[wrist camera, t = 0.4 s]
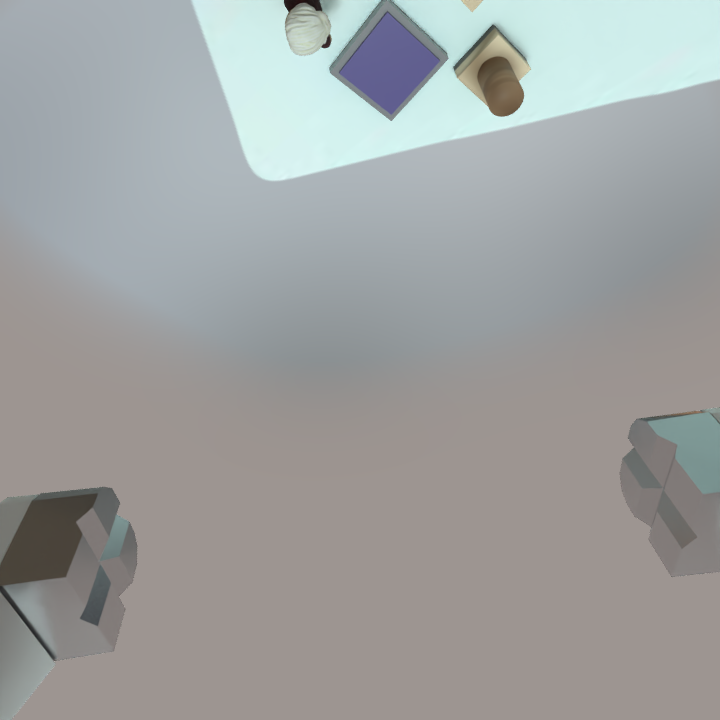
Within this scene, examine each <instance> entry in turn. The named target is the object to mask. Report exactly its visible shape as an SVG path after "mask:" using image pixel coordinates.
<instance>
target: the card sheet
mask: <svg viewBox="0 0 720 720" xmlns="http://www.w3.org/2000/svg"><path fill="white" fill-rule="evenodd" d="M461 1H462V2H463V3H464V4H465V5H466V6H467V7H468V8H469V9H470V10H471V11H472V12H473V11H474V10H475V9H476V8H477V6H478V5H479V4H480V3H481V2H482V1H483V0H461Z"/></svg>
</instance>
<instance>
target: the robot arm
mask: <svg viewBox="0 0 720 720" xmlns="http://www.w3.org/2000/svg"><path fill="white" fill-rule="evenodd" d="M628 439H629V441H630V442H631V443H632V445H633V446H634V448H633V449H632V450H631V451H630V452H629V453H628V454H627V455H626V456H625V457H624V458H623V459H622V464H621V470H620V480H621V487H622V492H623V495H624V497H625V500H626V503H627V505H628V506H629V508H630V510H631V511H632V513H633V515H634V516H635V517H637V518H638V519H640V520H641V521H643V522H644V523H646V524H648V525H649V526H651V531H650V536H649V541H650V543H651V544H652V546H653V548H654V549H655V551H656V553H657V554H658V556H659V557H660V559H661V561H662V562H663V564H664V565H665V567H666V569H667V570H668V572H669V573H670V575H671V577H675V576H685V575H694V574H704V573H713V572H720V407H719V408H712V409H705V410H700V411H691V412H684V413H677V414H670V415H662V416H654V417H647V418H640V419H636V420H635V422H634V423H633V424H632V425H631V428H630V431H629V435H628ZM119 504H120V502H119V500H118V498H117V496H116V494H115V493H114V491H113V489H112V488H108V487H99V488H89V489H80V490H70V491H60V492H50V493H41V494H38V495H28V496H18V497H8V498H6V499H5V500H3V501H2V502H1V503H0V720H12V718H13V717H14V716H15V715H16V713H17V712H18V711H19V710H20V708H21V707H22V706H23V705H24V703H25V702H26V701H27V700H28V698H29V697H30V696H31V695H32V693H33V692H34V691H35V690H36V688H37V687H38V686H39V684H40V683H41V682H42V681H43V680H44V678H45V677H46V676H47V674H48V673H49V672H50V671H51V669H52V668H53V667H54V666H55V662H54V661H57V660H64V659H69V658H75V657H82V656H88V655H95V654H101V653H106V652H112V651H114V649H115V645H116V641H117V637H118V634H119V630H120V627H121V623H122V620H123V616H124V612H125V607H124V605H123V604H122V602H121V600H120V598H119V596H120V595H121V594H122V593H123V592H124V591H125V590H126V588H127V587H128V586H129V585H130V584H131V583H132V582H133V578H134V574H135V570H136V566H137V542H136V538H135V533H134V531H133V529H132V526H131V524H130V522H129V521H127V520H125V519H123V518H122V517H120V516H118V515H117V511H118V508H119Z"/></svg>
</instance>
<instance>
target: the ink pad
mask: <svg viewBox="0 0 720 720" xmlns="http://www.w3.org/2000/svg"><path fill="white" fill-rule="evenodd" d="M448 59H449V58H448V56H447V53H446V52H445V51H444V50H443V49H441V48H440V47H439V46H438V45H437V44H436V43H435V42H434V41H433V40H432V39H431V38H430V37H429V36H428V35H427V34H426V33H425V32H423V31H422V30H421V29H420V28H419V27H418V26H417V25H416V24H415V23H414V22H413V21H412V20H411V19H410V18H409V17H408V16H407V15H406V14H404V13H403V12H402V11H401V10H400V9H399V8H398V7H397V6H396V5H395V4H394V3H393V2H392V1H391V0H382V1H381V2H380V3H379V5H378V6H377V7H376V8H375V10H374V11H373V12H372V14H371V15H370V16H369V17H368V19H367V20H366V21H365V23H364V24H363V25H362V27H361V28H360V29H359V30H358V32H357V33H356V34H355V36H354V37H353V38H352V39H351V41H350V42H349V43H348V45H347V46H346V47H345V48H344V50H343V51H342V52H341V54H340V55H339V56H338V57H337V59H336V60H335V61H334V63H333V64H332V65H331V67H330V73H331V74H332V75H333V76H335V77H336V78H337V79H338V80H340V81H341V82H342V83H343V84H345V85H346V86H347V87H349V88H350V89H351V90H352V91H354V92H355V93H356V94H357V95H359V96H360V97H361V98H363V99H364V100H365V101H366V102H368V103H369V104H370V105H371V106H373V107H374V108H375V109H377V110H378V111H379V112H380V113H382V114H383V115H384V116H385V117H387V118H388V119H389V120H391V121H392V120H393V119H394V118H395V117H396V115H397V114H398V113H399V112H400V111H401V110H402V109H403V108H404V107H405V106H406V105H407V103H408V102H409V101H410V100H411V99H412V98H413V97H414V96H415V95H416V94H417V92H418V91H419V90H420V89H421V88H422V87H423V86H424V85H425V84H426V83H427V82H428V80H429V79H430V78H431V77H432V76H433V75H434V74H435V73H436V72H437V71H438V70H439V68H440V67H441V66H442V65H443V64H444V63H445V62H446V61H447V60H448Z"/></svg>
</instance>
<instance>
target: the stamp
mask: <svg viewBox="0 0 720 720" xmlns="http://www.w3.org/2000/svg"><path fill="white" fill-rule="evenodd" d="M453 68H454V71H455V73H456V76H457V78H458V79H459V80H460V81H461V82H462V83H463V84H464V85H465V86H466V87H467V88H469V89H470V90H471V91H472V92H473V93H474V94H475V95H476V96H477V97H478V98H479V99H480V100H481V101H483V102H484V103H485V104H486V105H487V106H488V107H489V109H490V111H491V112H492V113H493V114H494V115H496V116H501V117H502V116H508V115H510V114H512V113H514V112H515V111H516V110H517V109H518V108H519V107H520V106H521V104H522V102H523V99H524V92H523V89H522V87H521V85H520V83H519V80H520V79H521V78H522V77H523V76H524V75H525V74H527V73H528V72H529V71H530V70H531V68H530V66H529V64H528V63H527V61H526V59H525V58H524V57H523V55H522V54H521V53H520V52H519V51H518V50H517V49H516V48H515V47H514V46H513V45H512V44H511V43H510V42H509V41H508V40H507V38H506V37H505V36H504V35H503V34H502V33H501V32H500V31H499V30H498V29H497V28H496V27H495V26H494V25H492V26H491V27H490V28H489V29H488V30H487V31H486V32H485V34H484V35H483V36H482V37H481V38H480V39H479V40H478V41H477V42H476V43H475V44H474V45H473V46H472V48H471V49H470V50H469V51H468V52H467V53H466V54H465V55H464V56H463V57H462V58H461V59H460V60H459V61H458V63H457V64H456V65H455V66H454V67H453Z"/></svg>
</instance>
